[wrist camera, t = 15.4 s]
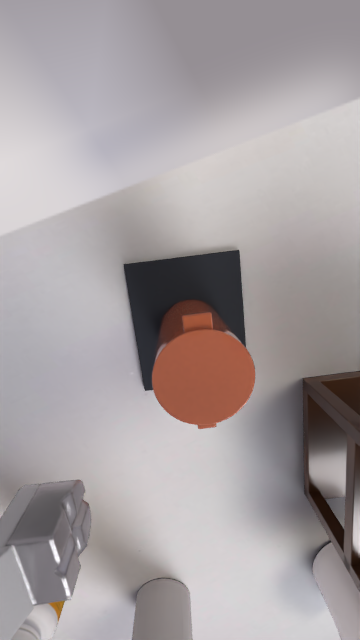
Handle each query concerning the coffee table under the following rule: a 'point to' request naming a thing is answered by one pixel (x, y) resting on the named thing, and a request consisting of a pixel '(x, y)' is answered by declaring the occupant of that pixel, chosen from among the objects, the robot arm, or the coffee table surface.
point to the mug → (338, 592)
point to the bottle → (163, 611)
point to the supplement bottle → (40, 622)
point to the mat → (182, 295)
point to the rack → (334, 459)
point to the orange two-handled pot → (200, 366)
